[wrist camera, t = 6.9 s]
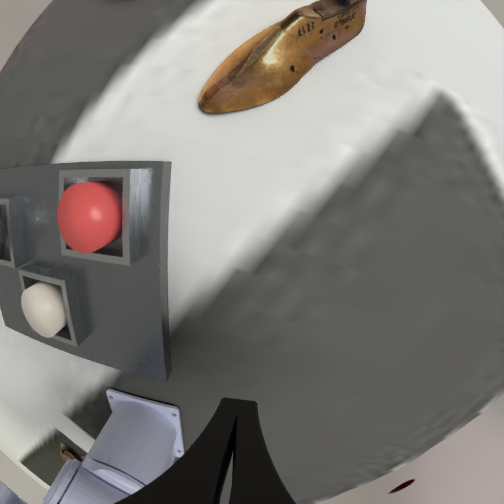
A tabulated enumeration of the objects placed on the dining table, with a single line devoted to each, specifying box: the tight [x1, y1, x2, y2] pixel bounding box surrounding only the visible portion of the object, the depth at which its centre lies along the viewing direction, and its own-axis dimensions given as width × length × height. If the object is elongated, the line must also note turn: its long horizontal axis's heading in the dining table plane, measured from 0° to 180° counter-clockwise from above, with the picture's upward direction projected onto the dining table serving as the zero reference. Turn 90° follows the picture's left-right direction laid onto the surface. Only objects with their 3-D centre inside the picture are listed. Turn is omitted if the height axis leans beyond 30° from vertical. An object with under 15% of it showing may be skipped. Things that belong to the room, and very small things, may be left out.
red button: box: [57, 181, 123, 253], centre depth 16 cm, size 4×4×2 cm
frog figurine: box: [59, 443, 86, 465], centre depth 30 cm, size 12×12×4 cm
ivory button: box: [21, 281, 68, 338], centre depth 19 cm, size 4×4×2 cm
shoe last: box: [198, 0, 367, 113], centre depth 14 cm, size 4×14×5 cm, turn 126°
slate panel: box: [0, 161, 172, 381], centre depth 19 cm, size 17×21×3 cm
